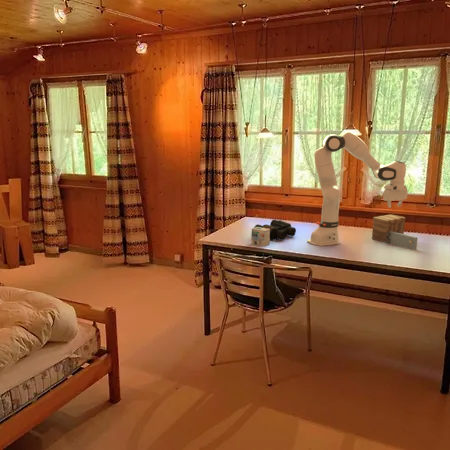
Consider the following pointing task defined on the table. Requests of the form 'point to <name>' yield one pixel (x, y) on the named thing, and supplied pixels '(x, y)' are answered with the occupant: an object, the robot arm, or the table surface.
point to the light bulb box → (260, 236)
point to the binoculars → (279, 229)
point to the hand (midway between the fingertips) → (394, 206)
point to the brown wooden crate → (387, 226)
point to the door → (403, 240)
